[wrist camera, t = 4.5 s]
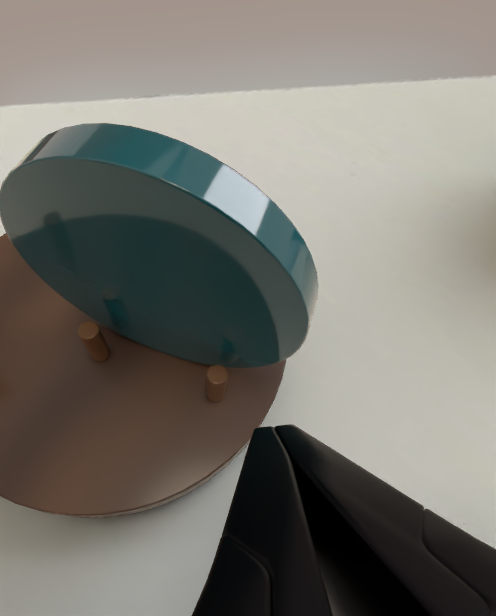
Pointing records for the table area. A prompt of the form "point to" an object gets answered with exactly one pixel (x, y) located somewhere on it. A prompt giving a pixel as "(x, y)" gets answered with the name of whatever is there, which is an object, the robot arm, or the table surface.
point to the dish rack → (138, 319)
